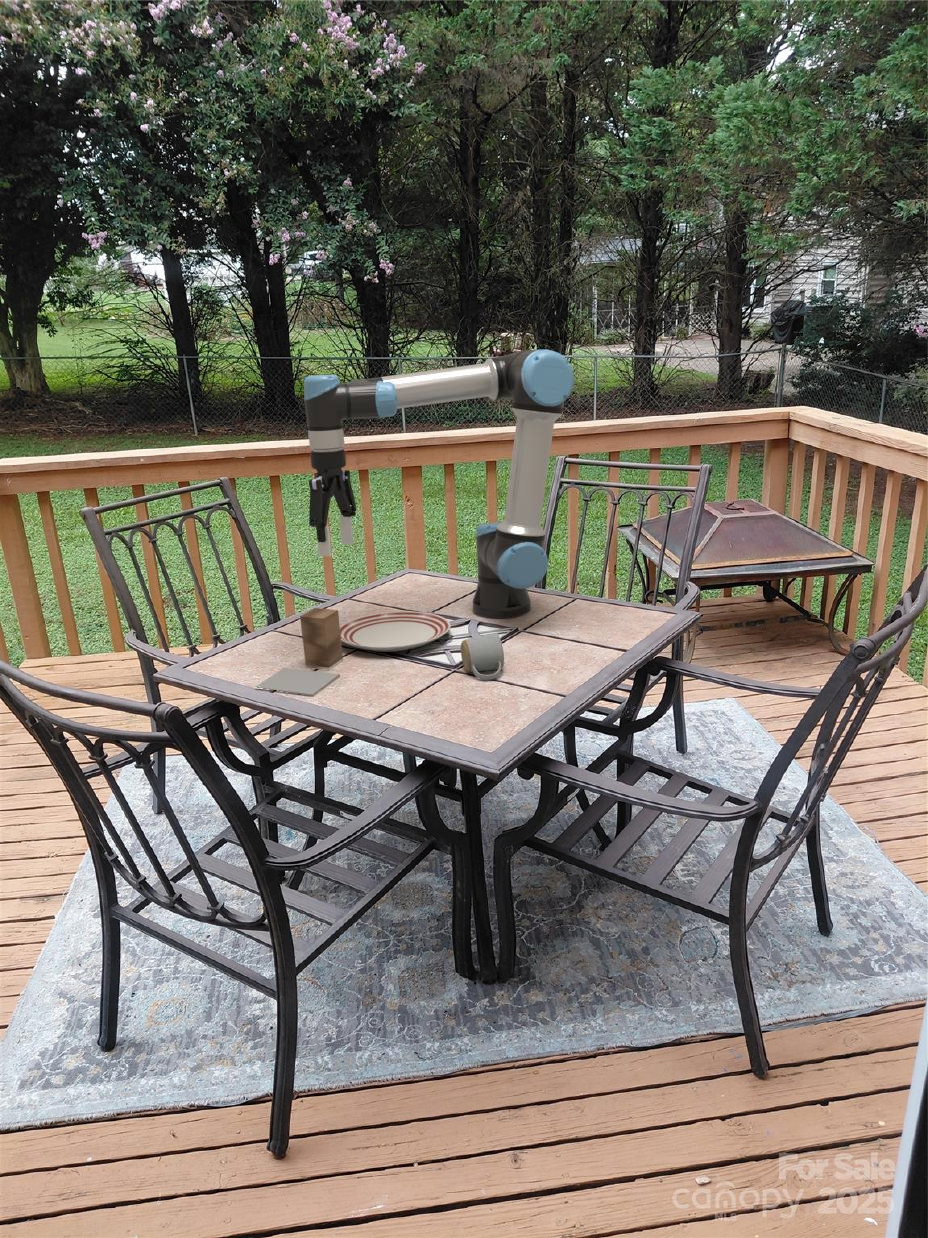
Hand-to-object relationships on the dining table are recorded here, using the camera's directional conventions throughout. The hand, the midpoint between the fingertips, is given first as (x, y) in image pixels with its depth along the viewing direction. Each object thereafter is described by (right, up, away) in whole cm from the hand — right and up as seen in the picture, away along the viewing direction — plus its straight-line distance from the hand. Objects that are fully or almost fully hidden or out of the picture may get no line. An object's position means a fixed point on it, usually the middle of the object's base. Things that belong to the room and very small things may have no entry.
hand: (336, 550), depth 188 cm
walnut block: (-3, -26, -1) cm, 26 cm away
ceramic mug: (+33, -27, -9) cm, 44 cm away
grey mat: (-7, -29, -11) cm, 32 cm away
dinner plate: (+12, -21, +13) cm, 27 cm away
